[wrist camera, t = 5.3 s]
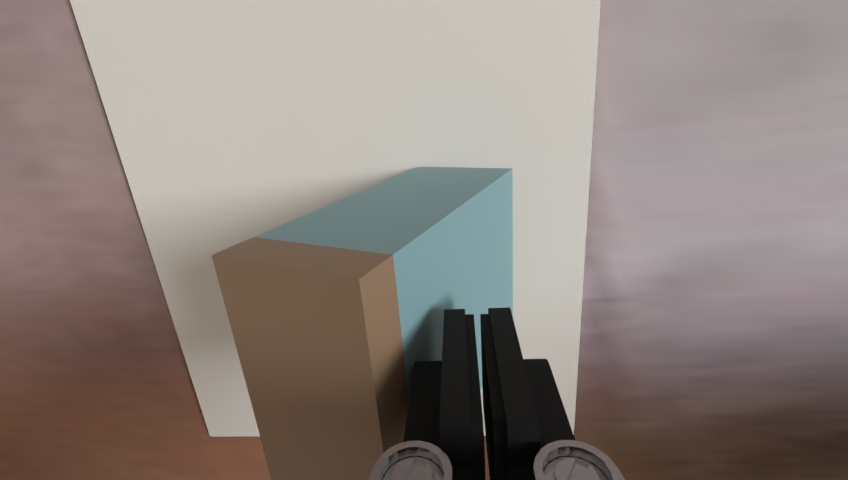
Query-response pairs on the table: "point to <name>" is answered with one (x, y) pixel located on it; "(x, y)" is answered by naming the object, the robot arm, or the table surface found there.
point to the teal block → (362, 310)
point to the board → (345, 140)
